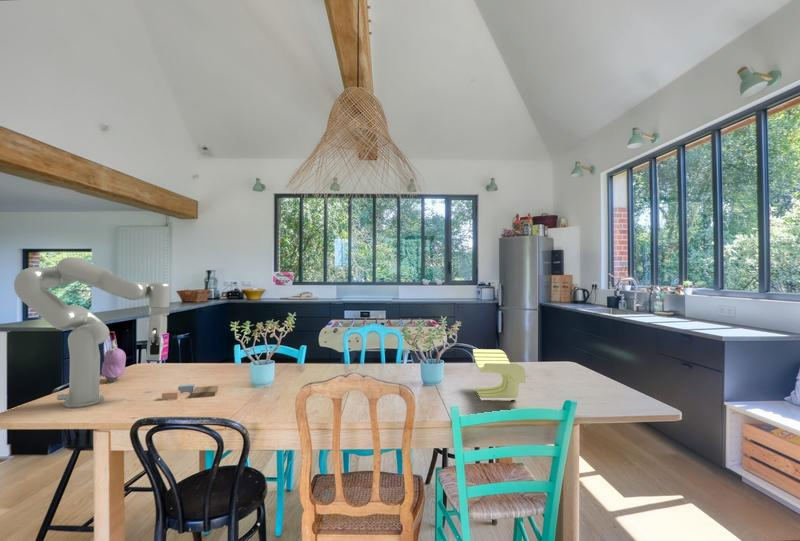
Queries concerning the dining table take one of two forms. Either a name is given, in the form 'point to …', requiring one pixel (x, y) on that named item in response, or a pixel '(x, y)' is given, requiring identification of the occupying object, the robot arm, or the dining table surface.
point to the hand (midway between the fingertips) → (157, 352)
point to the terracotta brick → (170, 395)
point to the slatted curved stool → (501, 365)
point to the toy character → (113, 363)
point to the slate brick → (186, 388)
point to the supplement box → (162, 349)
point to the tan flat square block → (204, 391)
